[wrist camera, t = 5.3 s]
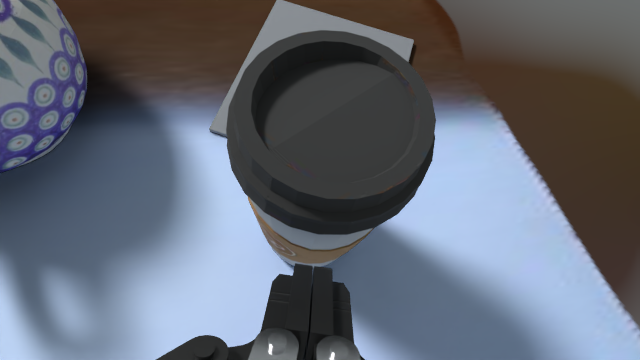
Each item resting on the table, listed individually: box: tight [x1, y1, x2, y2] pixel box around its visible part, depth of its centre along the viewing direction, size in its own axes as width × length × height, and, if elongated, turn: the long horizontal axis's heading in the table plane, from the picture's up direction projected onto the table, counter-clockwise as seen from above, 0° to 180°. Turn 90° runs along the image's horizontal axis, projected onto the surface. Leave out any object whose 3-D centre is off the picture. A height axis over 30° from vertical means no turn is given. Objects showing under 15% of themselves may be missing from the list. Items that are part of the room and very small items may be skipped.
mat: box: [209, 0, 414, 137], centre depth 32 cm, size 16×14×1 cm
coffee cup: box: [226, 30, 436, 268], centre depth 20 cm, size 8×8×15 cm
